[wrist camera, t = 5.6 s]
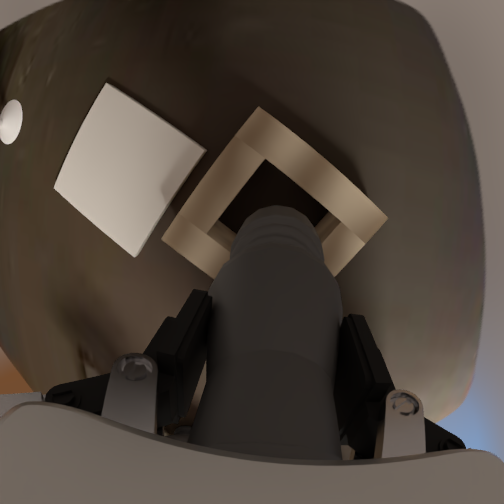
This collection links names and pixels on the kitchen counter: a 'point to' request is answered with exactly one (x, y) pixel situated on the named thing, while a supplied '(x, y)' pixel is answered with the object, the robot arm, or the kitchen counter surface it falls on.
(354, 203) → the socket block
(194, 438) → the candle holder
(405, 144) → the kitchen counter surface
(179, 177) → the ceramic tile
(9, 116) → the champagne flute
